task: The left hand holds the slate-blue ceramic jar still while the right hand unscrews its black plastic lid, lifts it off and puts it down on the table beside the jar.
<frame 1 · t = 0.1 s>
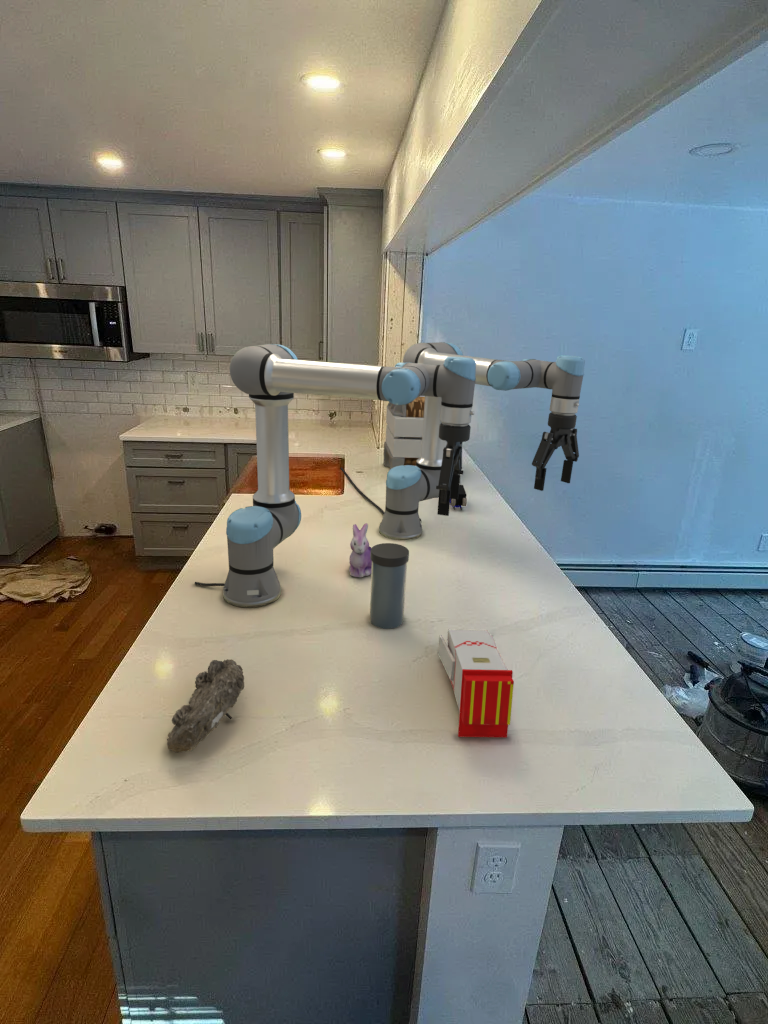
left hand: (448, 506, 144), 28 cm above the counter, tool pointing down, fingers open, 13 cm apart
right hand: (552, 485, 166), 28 cm above the counter, tool pointing down, fingers open, 13 cm apart
lid: (389, 551, 138), point 19 cm above the counter, screwed on, not yet turned
toy: (469, 691, 119), on the counter
figurine character: (456, 506, 231), on the counter
white slatted crate: (419, 473, 275), on the counter
fossil: (212, 717, 108), on the counter
figurine: (362, 571, 170), on the counter
feather: (278, 516, 211), on the counter
jar: (386, 619, 145), on the counter
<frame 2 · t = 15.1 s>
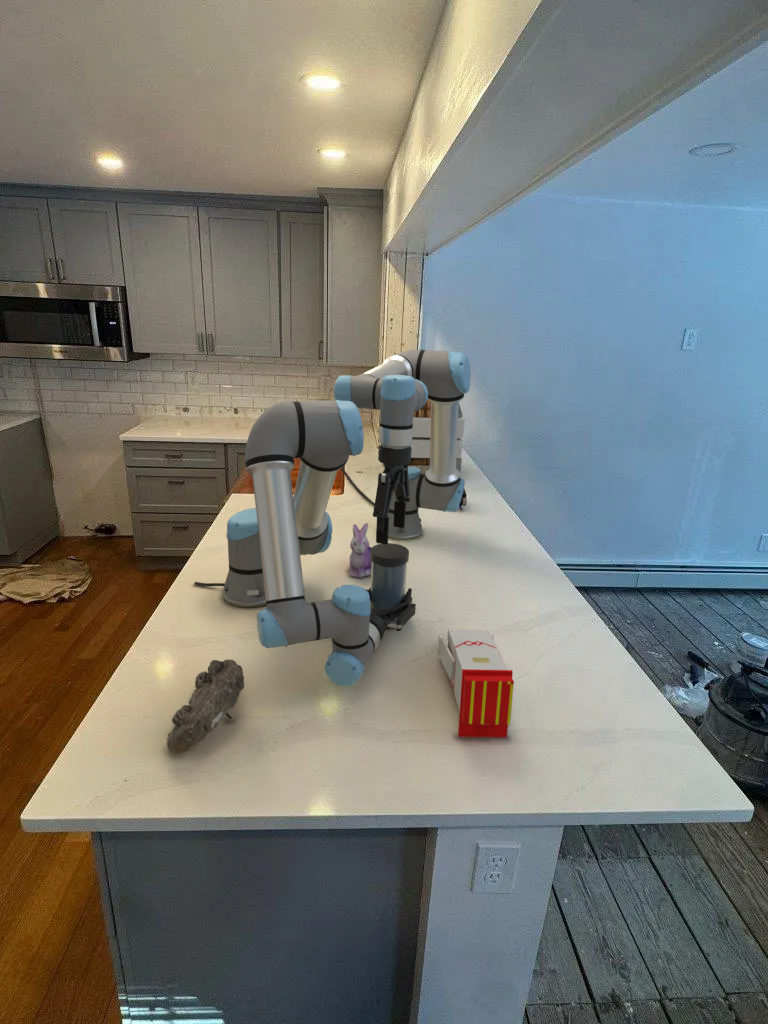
left hand: (392, 589, 147), 6 cm above the counter, tool horizontal, fingers closed on jar, 9 cm apart
right hand: (390, 534, 137), 23 cm above the counter, tool pointing down, fingers open, 11 cm apart
jar: (386, 619, 145), on the counter, touching left hand
everything else where it was.
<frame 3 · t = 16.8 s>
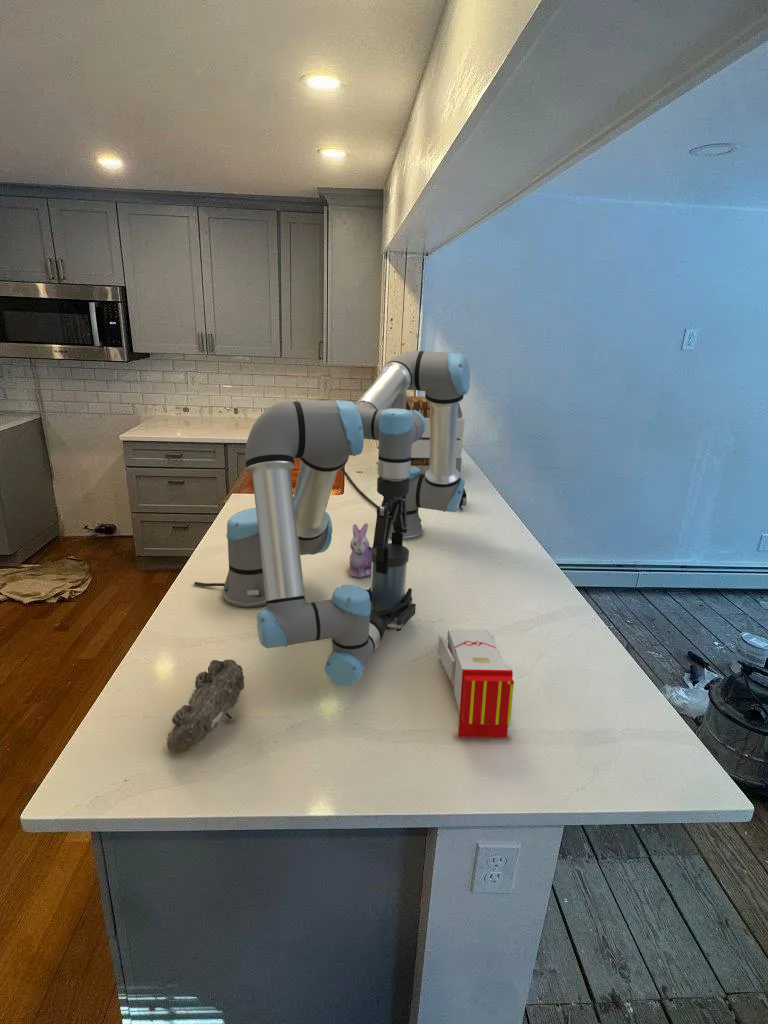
left hand: (392, 589, 147), 6 cm above the counter, tool horizontal, fingers closed on jar, 9 cm apart
right hand: (389, 564, 139), 16 cm above the counter, tool pointing down, fingers closed on lid, 9 cm apart
lid: (389, 551, 138), point 19 cm above the counter, screwed on, not yet turned, touching right hand
jar: (386, 619, 144), on the counter, touching left hand
everything else where it was.
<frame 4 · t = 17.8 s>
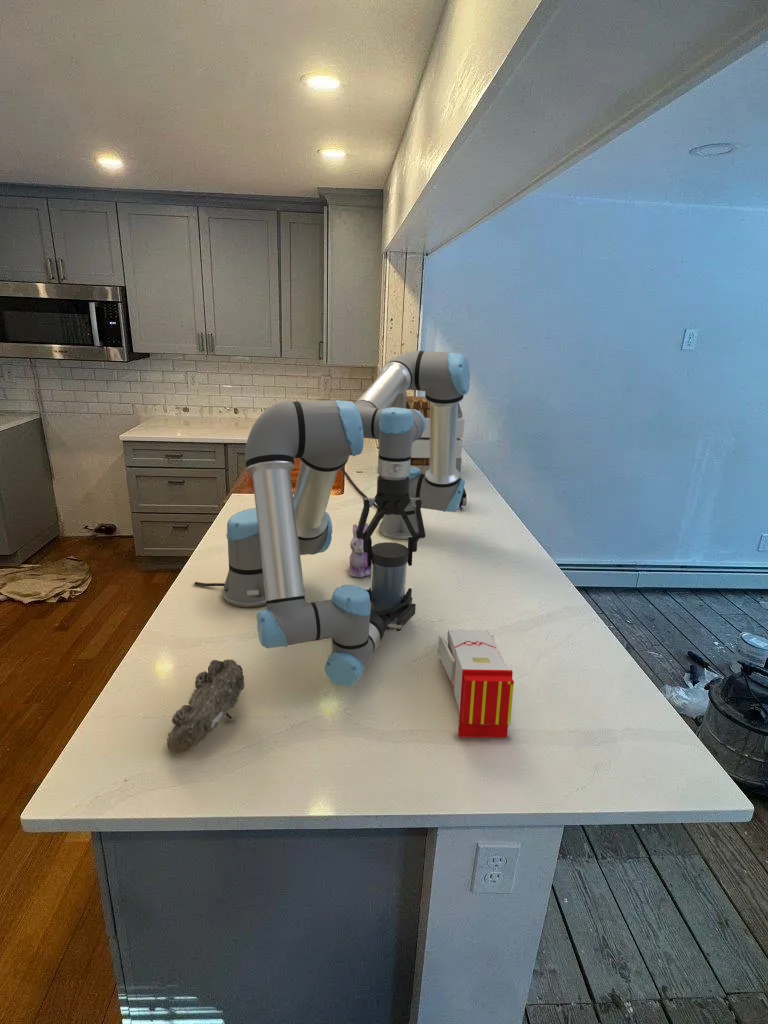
left hand: (392, 589, 147), 6 cm above the counter, tool horizontal, fingers closed on jar, 9 cm apart
right hand: (389, 563, 139), 16 cm above the counter, tool pointing down, fingers closed on lid, 9 cm apart
lid: (389, 551, 138), point 19 cm above the counter, off its thread, touching right hand
jar: (386, 619, 144), on the counter, touching left hand
everything else where it was.
when the right hand's fingers open (0 cm above the counter, at t = 24.2 s): lid drops 2 cm, point 2 cm above the counter.
when the left hand's fingers open (6 cm above the counter, at t = 25.2 s): jar stays where it is, on the counter.
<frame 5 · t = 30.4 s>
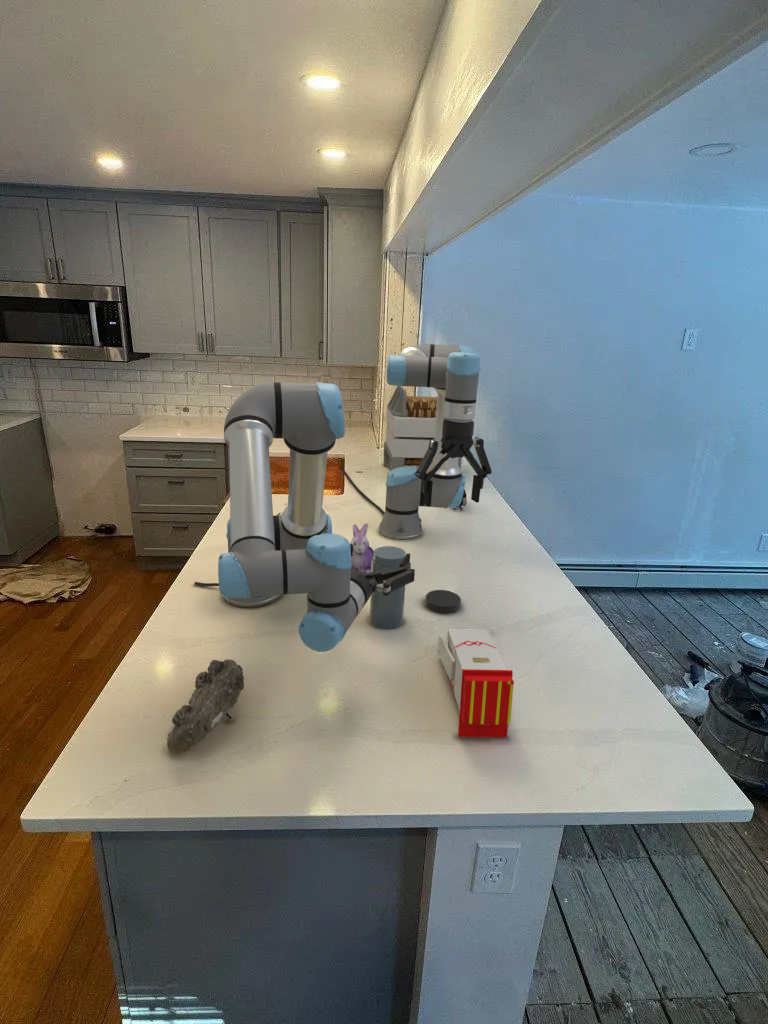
left hand: (379, 554, 129), 22 cm above the counter, tool horizontal, fingers open, 13 cm apart
right hand: (451, 503, 143), 29 cm above the counter, tool pointing down, fingers open, 13 cm apart
lid: (443, 599, 152), point 2 cm above the counter, off its thread
jar: (386, 620, 144), on the counter
everything else where it was.
at the end: lid came off its thread; lid point 1.8 cm above the counter; the left hand is holding nothing; the right hand is holding nothing; jar tilted 0°; jar moved 0.1 cm from its start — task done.
